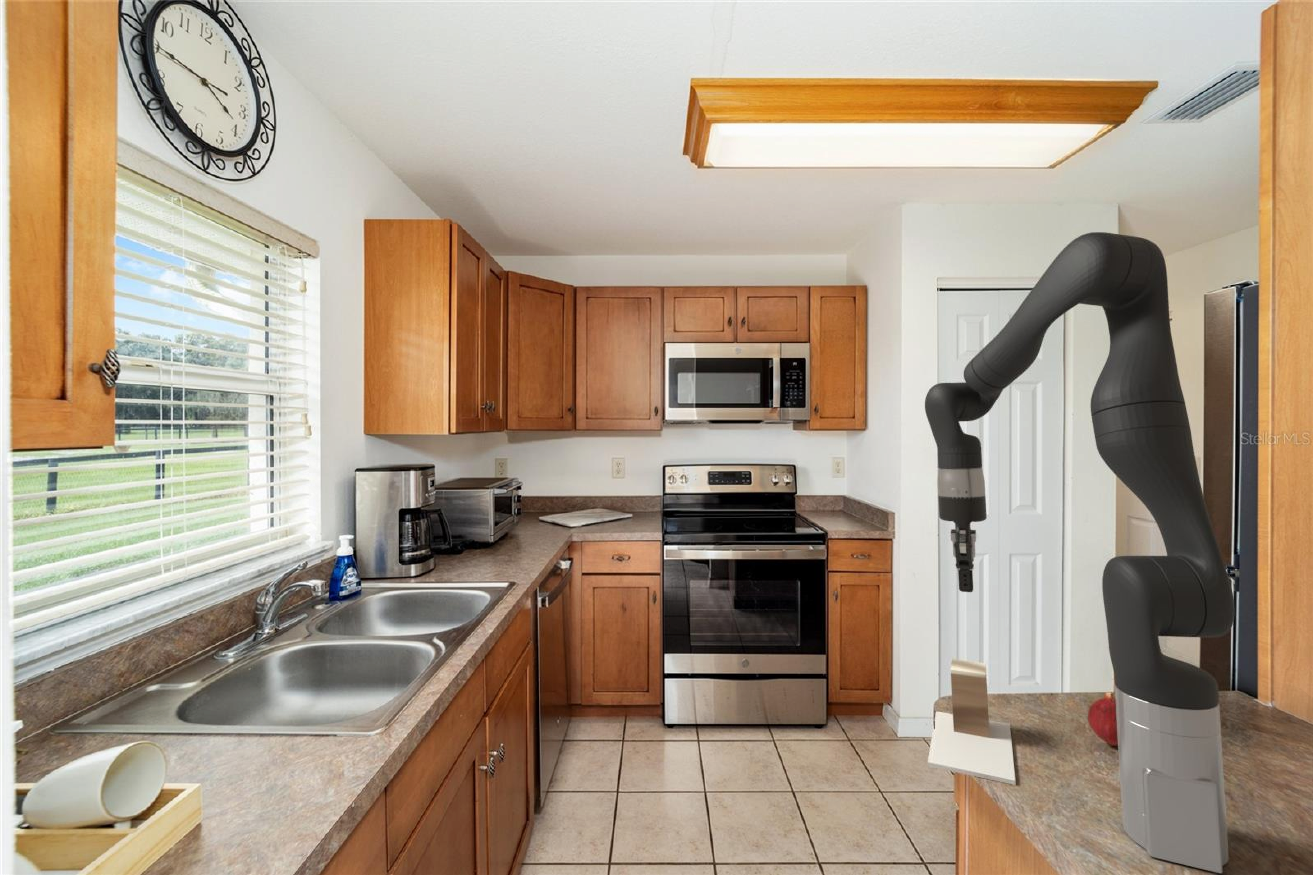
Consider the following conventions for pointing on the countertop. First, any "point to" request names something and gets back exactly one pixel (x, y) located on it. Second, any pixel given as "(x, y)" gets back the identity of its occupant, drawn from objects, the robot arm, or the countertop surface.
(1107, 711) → the onion
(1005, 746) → the mat
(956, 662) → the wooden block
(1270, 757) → the countertop surface
